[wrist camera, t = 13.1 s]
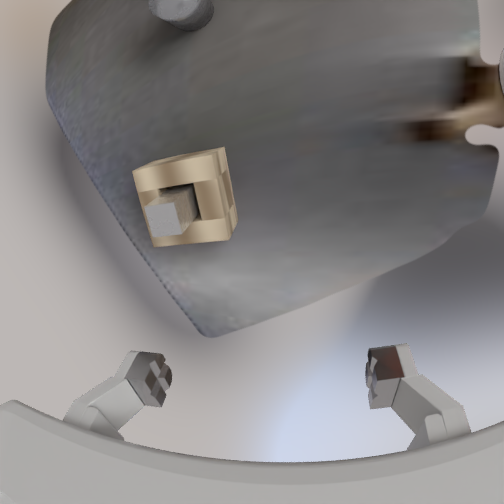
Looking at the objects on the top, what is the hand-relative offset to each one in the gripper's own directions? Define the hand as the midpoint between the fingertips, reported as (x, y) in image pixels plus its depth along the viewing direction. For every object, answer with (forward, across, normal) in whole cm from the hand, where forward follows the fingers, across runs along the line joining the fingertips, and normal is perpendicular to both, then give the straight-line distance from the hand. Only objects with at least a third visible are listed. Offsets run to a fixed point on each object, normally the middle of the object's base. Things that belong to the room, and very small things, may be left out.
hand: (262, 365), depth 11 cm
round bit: (+29, +8, -24) cm, 39 cm away
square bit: (+28, +12, 0) cm, 31 cm away
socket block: (+29, +12, 0) cm, 31 cm away
